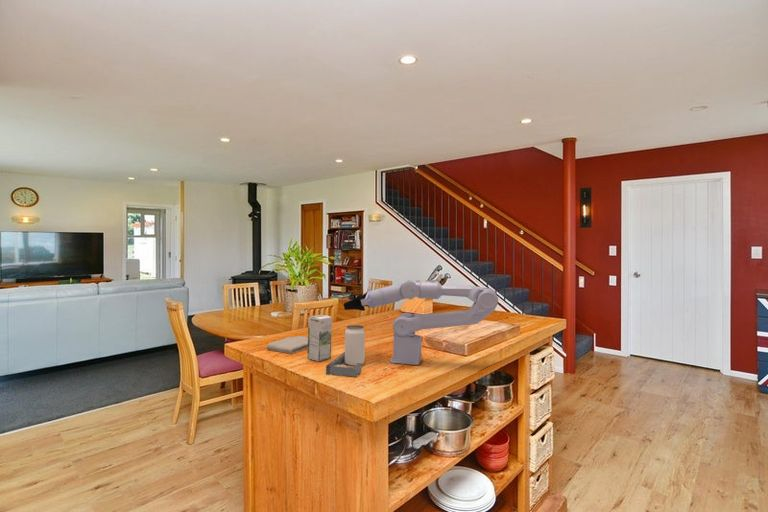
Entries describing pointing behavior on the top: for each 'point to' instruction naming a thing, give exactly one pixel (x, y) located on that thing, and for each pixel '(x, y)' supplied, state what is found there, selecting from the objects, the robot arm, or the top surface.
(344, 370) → the metal bracket
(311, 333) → the syrup box
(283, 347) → the washcloth
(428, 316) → the robot arm
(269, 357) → the top surface
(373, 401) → the top surface
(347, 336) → the can
